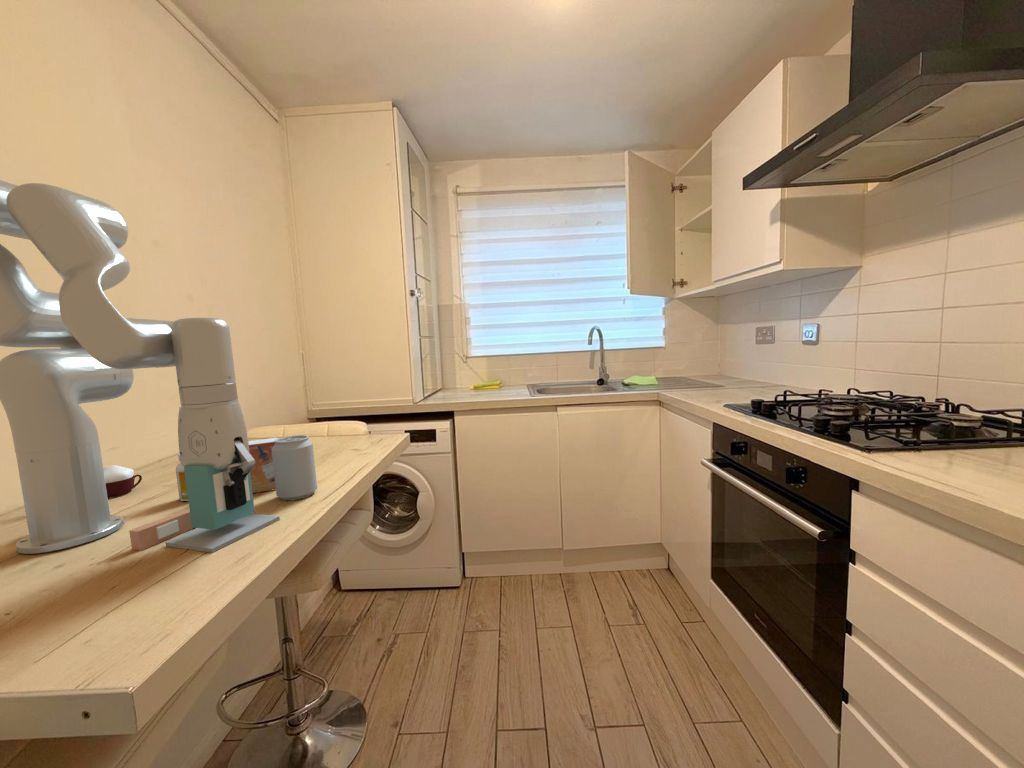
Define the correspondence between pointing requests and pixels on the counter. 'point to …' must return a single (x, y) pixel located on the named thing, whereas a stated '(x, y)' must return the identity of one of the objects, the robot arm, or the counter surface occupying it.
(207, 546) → the mat
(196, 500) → the carton block
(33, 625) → the counter surface
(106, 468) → the cocoa
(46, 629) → the counter surface
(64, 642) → the counter surface
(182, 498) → the supplement bottle
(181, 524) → the price rail
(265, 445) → the small box
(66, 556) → the counter surface
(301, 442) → the can
